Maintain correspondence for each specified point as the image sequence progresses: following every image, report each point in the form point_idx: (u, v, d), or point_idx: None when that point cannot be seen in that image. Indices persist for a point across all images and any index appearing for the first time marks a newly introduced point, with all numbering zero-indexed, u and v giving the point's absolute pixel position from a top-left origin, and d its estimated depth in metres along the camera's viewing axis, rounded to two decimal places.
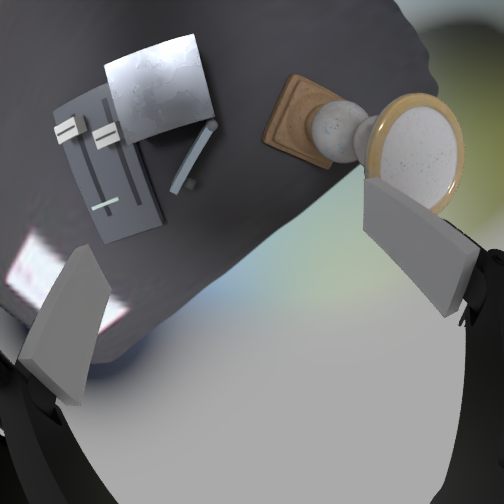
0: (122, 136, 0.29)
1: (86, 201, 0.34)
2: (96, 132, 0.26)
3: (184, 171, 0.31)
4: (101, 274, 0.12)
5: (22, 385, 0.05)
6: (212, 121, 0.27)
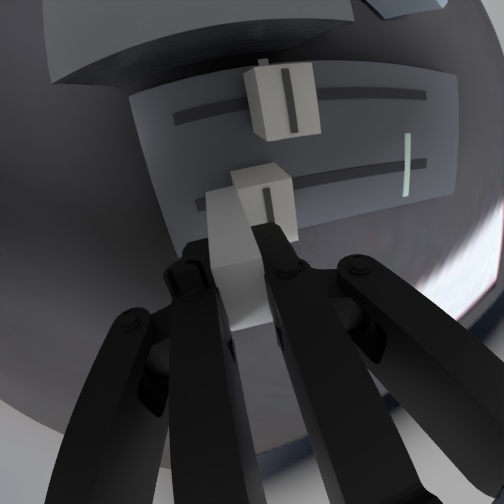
0: None
1: (390, 204, 0.17)
2: (272, 127, 0.10)
3: None
4: None
5: (218, 308, 0.07)
6: None
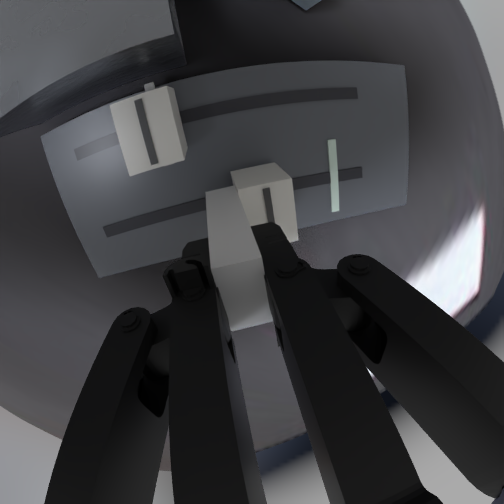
0: None
1: (315, 220, 0.17)
2: (132, 161, 0.10)
3: None
4: None
5: (218, 309, 0.07)
6: None
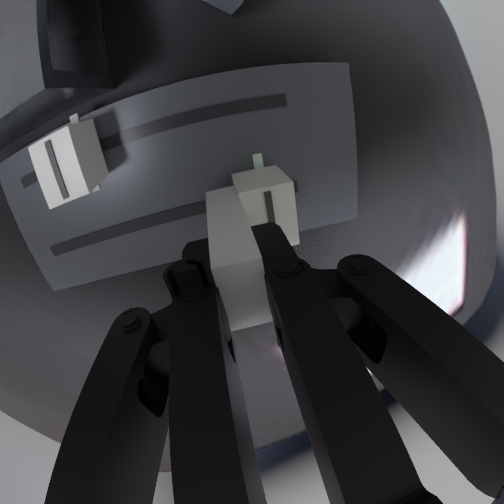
0: None
1: None
2: (49, 196, 0.10)
3: None
4: None
5: (218, 309, 0.07)
6: None
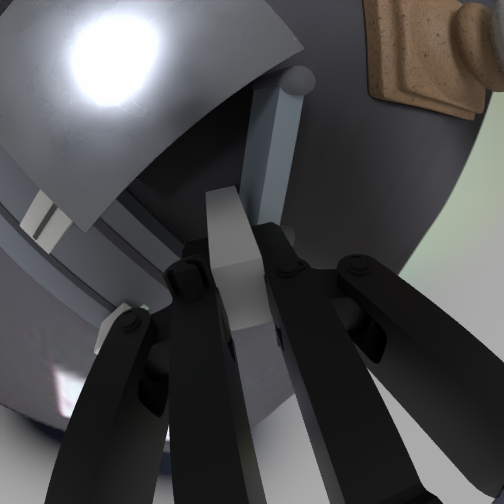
0: None
1: (97, 325, 0.19)
2: (26, 222, 0.10)
3: None
4: None
5: (218, 309, 0.07)
6: (295, 68, 0.08)
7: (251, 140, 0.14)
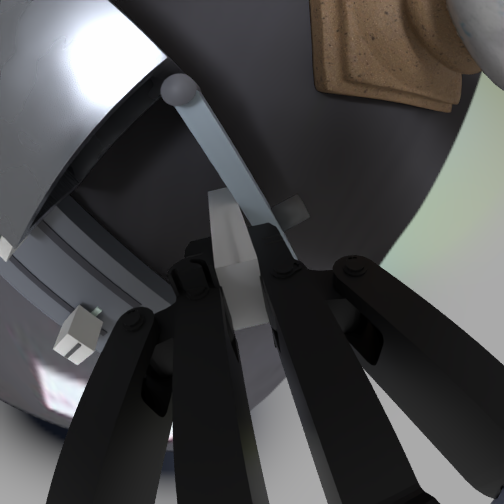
0: None
1: (62, 324, 0.19)
2: None
3: (261, 219, 0.12)
4: None
5: (222, 308, 0.07)
6: (166, 84, 0.08)
7: None
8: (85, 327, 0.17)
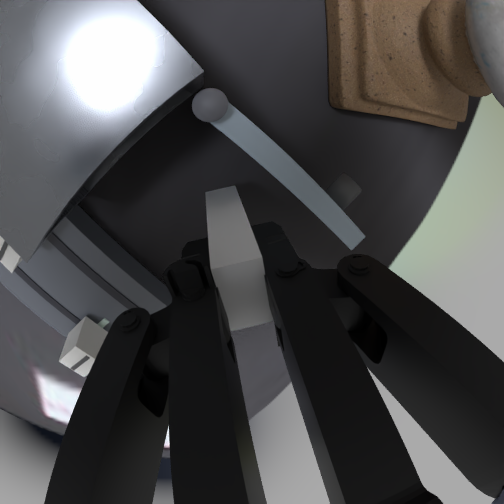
0: None
1: (66, 335, 0.18)
2: None
3: (323, 207, 0.12)
4: None
5: (218, 309, 0.07)
6: (195, 102, 0.08)
7: None
8: (93, 339, 0.17)
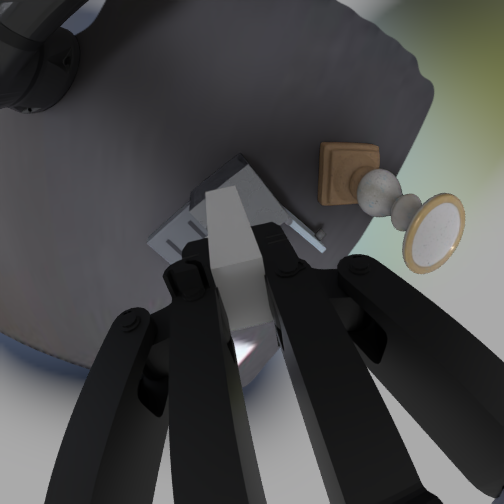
0: None
1: None
2: None
3: (313, 241, 0.44)
4: None
5: (218, 309, 0.07)
6: (285, 221, 0.40)
7: None
8: None
